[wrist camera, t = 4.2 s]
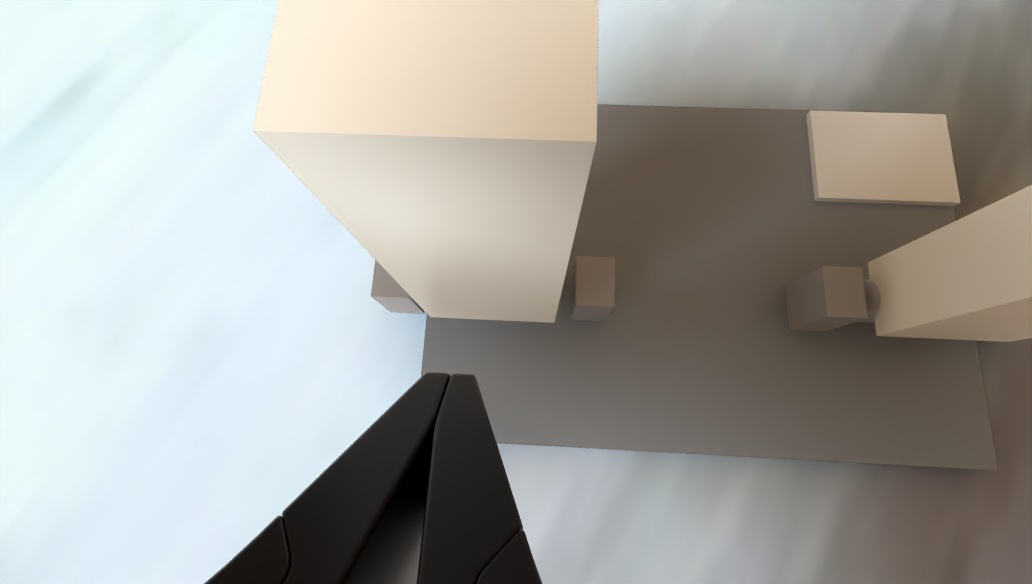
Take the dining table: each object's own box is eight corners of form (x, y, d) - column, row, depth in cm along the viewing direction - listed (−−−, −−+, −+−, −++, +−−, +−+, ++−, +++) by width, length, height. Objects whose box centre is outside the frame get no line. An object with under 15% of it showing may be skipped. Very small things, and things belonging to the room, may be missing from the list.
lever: (558, 328, 18) (613, 141, 6) (430, 322, 18) (236, 130, 6) (561, 261, 18) (615, -31, 6) (436, 255, 18) (270, -37, 7)
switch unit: (1023, 471, 17) (1123, 481, 14) (382, 436, 18) (353, 438, 15) (961, 123, 20) (1032, 74, 17) (418, 108, 21) (400, 58, 18)
